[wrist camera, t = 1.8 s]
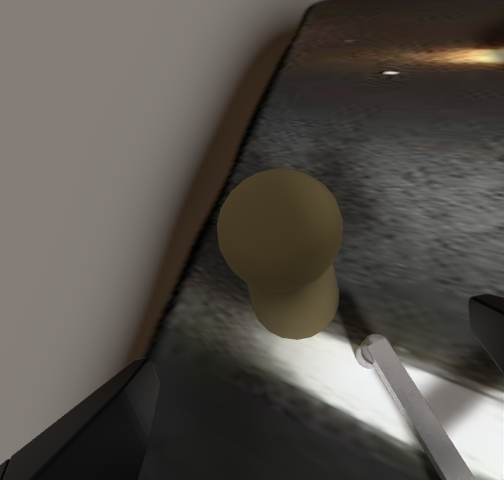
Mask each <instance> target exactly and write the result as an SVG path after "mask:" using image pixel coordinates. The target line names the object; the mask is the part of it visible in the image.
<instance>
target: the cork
mask: <svg viewBox="0 0 504 480" xmlns="http://www.w3.org/2000/svg"><path fill="white" fill-rule="evenodd" d="M217 233H218V242H219V249H220V251H221V253H222V255H223V257H224V259H225V261H226V263H227V265H228V266H229V267H230V269H231V270H232V271H233V272H234V273H235V274H237V275H238V276H239V277H240V278H241V279H242V280H243V281H244V282H246V283H247V285H248V290H249V294H250V298H251V303H252V307H253V310H254V312H255V314H256V316H257V318H258V320H259V322H260V323H261V324H262V325H263V326H264V327H265V328H266V329H267V330H268V331H270V332H272V333H274V334H276V335H278V336H280V337H282V338H289V339H296V340H297V339H303V338H308V337H312V336H314V335H315V334H317V333H319V332H321V331H322V330H324V329H325V328H326V327H327V326H328V325H329V323H330V322H331V321H332V320H333V319H334V316H335V314H336V311H337V309H338V306H339V288H338V284H337V280H336V276H335V272H334V268H333V263H334V261H335V259H336V256H337V254H338V252H339V249H340V247H341V244H342V239H343V219H342V216H341V213H340V210H339V207H338V204H337V202H336V199H335V197H334V196H333V195H332V193H331V192H330V191H329V190H328V189H327V187H326V186H325V185H324V184H323V183H321V182H319V181H318V180H316V179H315V178H313V177H311V176H310V175H308V174H306V173H304V172H300V171H296V170H293V169H271V170H267V171H263V172H259V173H256V174H254V175H252V176H250V177H249V178H247V179H245V180H243V181H242V182H241V183H240V184H239V185H238V186H236V187H235V188H234V189H233V190H232V191H231V193H230V194H229V196H228V198H227V199H226V201H225V202H224V204H223V206H222V208H221V209H220V214H219V218H218V222H217Z"/></svg>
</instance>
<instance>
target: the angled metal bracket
mask: <svg viewBox="0 0 504 480" xmlns="http://www.w3.org/2000/svg"><path fill="white" fill-rule="evenodd" d="M355 356H356V360H357V362H358V363H359V364H360V365H361V366H362V367H364V368H368V369H371V368H374V367H375V368H376V370H377V372H378V373H379V375H380V377H381V378H382V380H383V382H384V383H385V385H386V387H387V388H388V390H389V392H390V394H391V395H392V397H393V399H394V400H395V402H396V404H397V405H398V407H399V409H400V410H401V412H402V414H403V416H404V417H405V419H406V421H407V422H408V424H409V426H410V427H411V429H412V431H413V432H414V434H415V436H416V437H417V439H418V441H419V443H420V444H421V446H422V448H423V449H424V451H425V453H426V454H427V456H428V458H429V459H430V461H431V463H432V465H433V466H434V468H435V470H436V471H437V473H438V475H439V476H440V478H441V480H476V479H475V478H474V476H473V474H472V473H471V471H470V470H469V468H468V467H467V465H466V463H465V462H464V460H463V459H462V457H461V456H460V454H459V452H458V451H457V449H456V448H455V446H454V445H453V443H452V442H451V440H450V438H449V437H448V435H447V434H446V432H445V431H444V429H443V427H442V426H441V424H440V423H439V421H438V420H437V418H436V416H435V415H434V413H433V412H432V410H431V409H430V407H429V406H428V404H427V402H426V401H425V399H424V398H423V396H422V395H421V393H420V391H419V390H418V388H417V387H416V385H415V384H414V382H413V381H412V379H411V377H410V376H409V374H408V373H407V371H406V370H405V368H404V366H403V365H402V363H401V362H400V360H399V359H398V357H397V355H396V354H395V352H394V351H393V349H392V346H391V344H390V342H389V341H388V340H387V339H386V338H385V337H384V336H382V335H379V334H372V335H369V336H367V337H366V338H365V340H364V341H363V342H362V343H361V344H360V345H359V347H358V348H357V350H356V353H355Z"/></svg>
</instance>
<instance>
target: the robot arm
mask: <svg viewBox="0 0 504 480" xmlns="http://www.w3.org/2000/svg"><path fill="white" fill-rule="evenodd" d="M469 324H470V328H471V330H472V332H473V334H474V335H475V336H476V338H477V339H478V340H479V342H480V343H481V344H482V346H483V347H484V348H485V350H486V351H487V352H488V354H489V355H490V356H491V358H492V359H493V360H494V362H495V363H496V364H497V366H498V367H499V368H500V370H501V371H502V372H503V374H504V298H503V297H498V296H494V295H490V294H483V295H478V296H473V297H471V298H470V299H469ZM159 386H160V384H159V379H158V376H157V374H156V371H155V369H154V366H153V364H152V362H151V360H150V359H149V358H143V359H137V360H134V361H133V362H132V363H130V364H129V365H128V366H126V367H125V368H124V369H123V370H121V371H120V372H119V373H117V374H116V375H115V376H114V377H112V378H111V379H110V380H109V381H107V382H106V383H105V384H103V385H102V386H101V387H100V388H98V389H97V390H96V391H94V392H93V393H92V394H91V395H90V396H88V397H87V398H86V399H84V400H83V401H82V402H80V403H79V404H78V405H77V406H75V407H74V408H73V409H71V410H70V411H69V412H68V413H66V414H65V415H64V416H62V417H61V418H60V419H59V420H57V421H56V422H55V423H54V424H52V425H51V426H50V427H48V428H47V429H46V430H45V431H43V432H42V433H41V434H40V435H38V436H37V437H36V438H35V439H33V440H32V441H31V442H30V443H28V444H27V445H25V446H24V447H23V448H22V449H21V450H19V451H18V452H16V453H15V454H14V455H13V456H12V457H11V459H8V460H6V461H5V462H4V463H2V464H1V465H0V480H138V477H139V473H140V470H141V467H142V463H143V460H144V456H145V453H146V450H147V446H148V442H149V438H150V434H151V429H152V424H153V418H154V413H155V408H156V403H157V398H158V393H159Z"/></svg>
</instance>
